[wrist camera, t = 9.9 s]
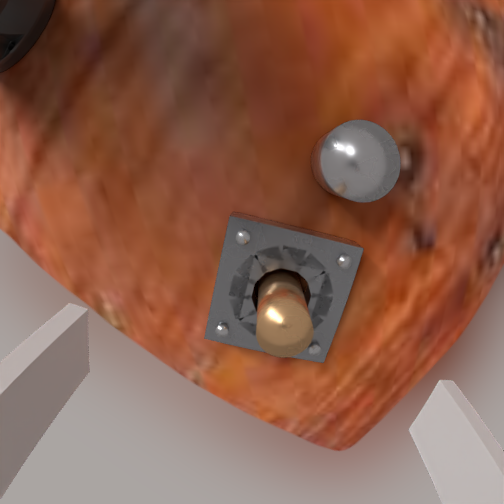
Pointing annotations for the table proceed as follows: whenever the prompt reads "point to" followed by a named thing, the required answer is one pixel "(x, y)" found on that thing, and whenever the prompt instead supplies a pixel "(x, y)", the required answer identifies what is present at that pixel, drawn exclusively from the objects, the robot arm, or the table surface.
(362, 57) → the table surface
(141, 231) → the table surface
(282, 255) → the flange socket
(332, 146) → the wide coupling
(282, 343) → the brass peg
